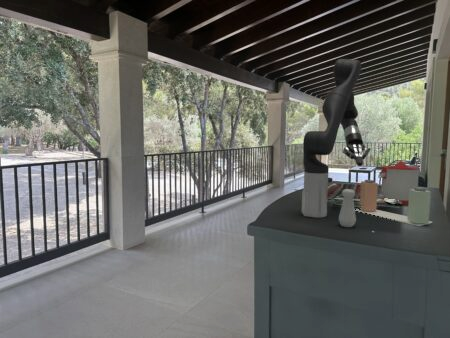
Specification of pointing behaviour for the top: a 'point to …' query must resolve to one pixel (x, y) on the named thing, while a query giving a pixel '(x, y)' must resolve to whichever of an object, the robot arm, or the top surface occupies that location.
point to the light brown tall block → (368, 195)
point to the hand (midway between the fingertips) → (360, 164)
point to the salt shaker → (347, 209)
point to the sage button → (419, 205)
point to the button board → (391, 216)
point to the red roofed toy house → (399, 181)
